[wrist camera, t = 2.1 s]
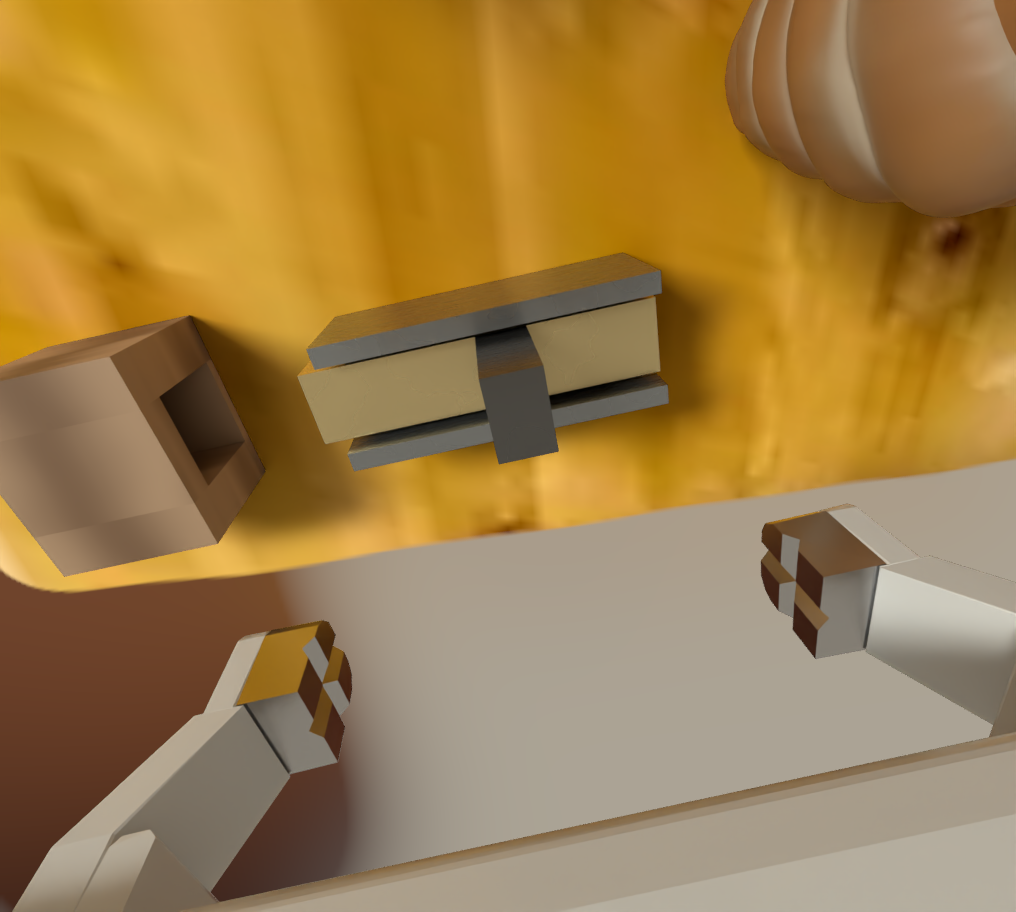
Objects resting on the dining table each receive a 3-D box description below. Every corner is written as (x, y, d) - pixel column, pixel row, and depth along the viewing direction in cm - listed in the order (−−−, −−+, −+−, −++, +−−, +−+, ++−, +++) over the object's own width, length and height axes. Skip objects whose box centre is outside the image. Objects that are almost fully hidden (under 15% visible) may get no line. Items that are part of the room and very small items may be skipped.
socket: (189, 315, 23) (109, 356, 18) (265, 471, 27) (217, 543, 22) (46, 347, 23) (-76, 397, 18) (141, 498, 27) (64, 576, 22)
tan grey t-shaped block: (632, 282, 23) (707, 329, 16) (638, 349, 24) (709, 418, 17) (315, 353, 23) (254, 428, 16) (339, 415, 25) (292, 508, 18)
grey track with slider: (622, 252, 23) (660, 270, 19) (632, 364, 26) (668, 403, 21) (334, 316, 24) (306, 349, 19) (372, 421, 26) (354, 471, 22)
